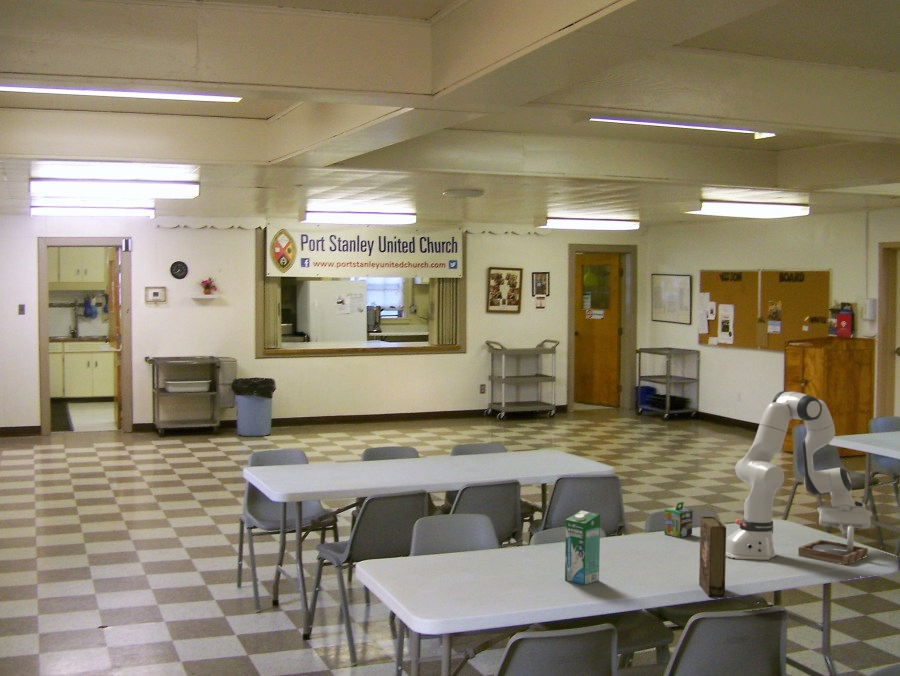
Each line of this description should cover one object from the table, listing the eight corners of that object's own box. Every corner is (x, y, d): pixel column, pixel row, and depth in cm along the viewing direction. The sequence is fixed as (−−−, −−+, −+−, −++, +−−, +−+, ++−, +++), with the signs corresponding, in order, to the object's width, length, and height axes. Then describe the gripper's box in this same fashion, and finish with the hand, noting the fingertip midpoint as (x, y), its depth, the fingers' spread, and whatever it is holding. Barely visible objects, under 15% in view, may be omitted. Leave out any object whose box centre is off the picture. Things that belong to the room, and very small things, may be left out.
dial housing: (846, 565, 389) (846, 556, 389) (798, 555, 404) (798, 546, 404) (867, 556, 403) (867, 548, 403) (820, 547, 418) (820, 539, 417)
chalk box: (676, 531, 445) (676, 499, 444) (692, 535, 438) (693, 502, 437) (663, 534, 439) (663, 501, 438) (680, 538, 432) (680, 504, 431)
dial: (809, 553, 400) (809, 526, 400) (815, 545, 414) (816, 519, 414) (851, 559, 392) (851, 531, 392) (856, 550, 406) (857, 523, 406)
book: (698, 584, 361) (699, 516, 360) (713, 584, 360) (714, 516, 360) (709, 597, 344) (710, 526, 343) (724, 597, 344) (726, 526, 343)
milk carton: (564, 580, 363) (565, 513, 362) (579, 575, 370) (580, 509, 369) (584, 585, 357) (585, 517, 356) (599, 580, 363) (600, 513, 362)
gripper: (817, 501, 418) (820, 529, 409) (869, 503, 414) (873, 532, 405) (816, 509, 423) (819, 537, 414) (866, 512, 419) (870, 540, 409)
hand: (846, 534), depth 409 cm, fingers closed
